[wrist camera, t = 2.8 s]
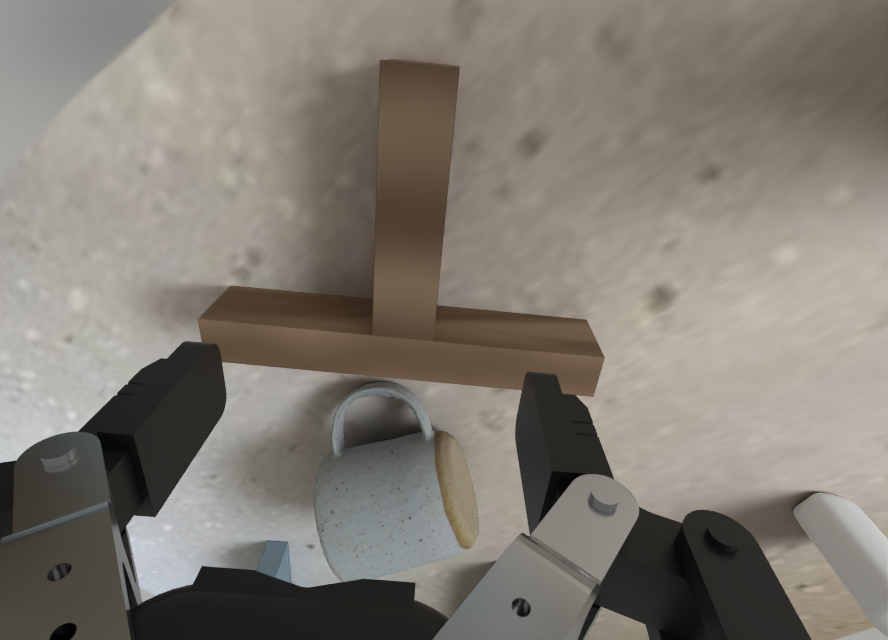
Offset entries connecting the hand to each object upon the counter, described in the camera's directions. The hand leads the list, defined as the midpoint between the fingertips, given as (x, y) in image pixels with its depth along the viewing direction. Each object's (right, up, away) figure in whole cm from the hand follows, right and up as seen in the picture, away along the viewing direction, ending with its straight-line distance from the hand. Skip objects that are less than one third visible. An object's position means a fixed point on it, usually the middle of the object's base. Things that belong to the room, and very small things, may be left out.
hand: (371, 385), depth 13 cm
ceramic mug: (-1, -6, +20) cm, 21 cm away
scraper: (0, +7, +12) cm, 14 cm away
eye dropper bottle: (+29, -12, +22) cm, 38 cm away
